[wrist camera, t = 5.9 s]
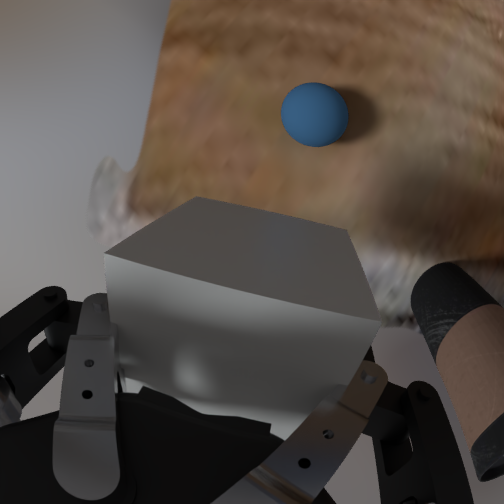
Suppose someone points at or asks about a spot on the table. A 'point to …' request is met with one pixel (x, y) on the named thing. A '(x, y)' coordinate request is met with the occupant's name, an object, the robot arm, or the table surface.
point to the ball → (314, 114)
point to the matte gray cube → (240, 311)
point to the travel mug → (467, 357)
